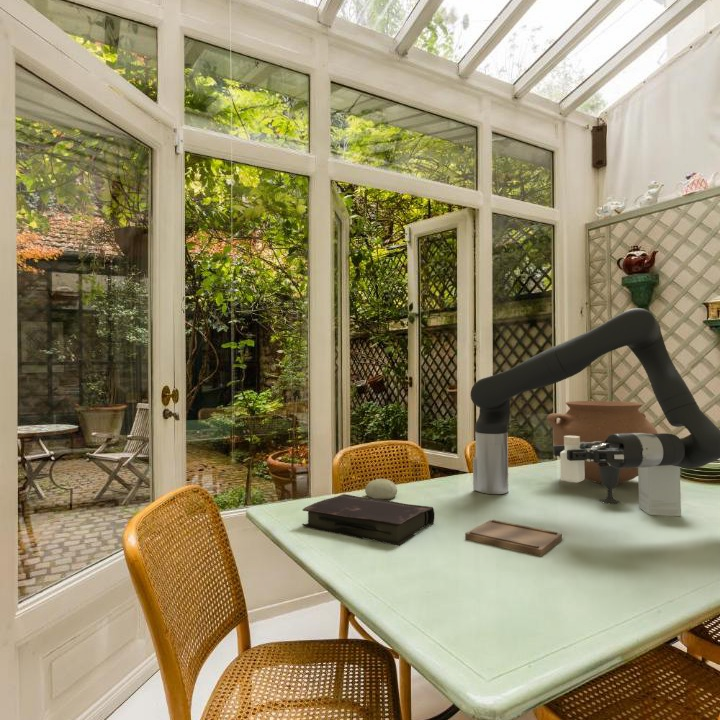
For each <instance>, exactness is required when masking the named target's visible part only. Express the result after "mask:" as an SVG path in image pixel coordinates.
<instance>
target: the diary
mask: <svg viewBox="0 0 720 720" xmlns="http://www.w3.org/2000/svg"><path fill="white" fill-rule="evenodd" d="M302 511H303V512H308V513H307V523H302V526H303V527H305V528H308V529H311V530H316V531H321V532H326V533H330V534H331V533H332V534H336V535H343V536H348V537H351V538H352V537H353V538H357V539H361V540H362V539H363V540H365V539H366V540H372V541H376V542H379V543H383V544H387V545H392V546H398V547H400V546H402V545H404V543H406V542H408V541H410V540H411V539H412V538H414V537H416V534H415V533H417V532H418V531H420V530H421V529H423V528H424V527H425V526H428V524H429V525H435V509H434V507H433V506H426V505H419V504H411V503H410V504H409V503H403V502H398V501H393V500H388V499H374V498H371V497H361V496H355V495H352V494H346V493H343V494H340V495H337V496H334V497H330V498H326V499H323V500H320V501H317V502H314V503H312V504H310V505H307V506H304V508H302Z"/></svg>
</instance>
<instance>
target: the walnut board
mask: <svg viewBox="0 0 720 720" xmlns="http://www.w3.org/2000/svg"><path fill="white" fill-rule="evenodd" d="M464 535H465V536H464V537H465V540H467V541H468V540H469V541H473V542H477V543H481V544H486V545H490V546H495V547H499V548H504V549H508V550H512V551H516V552H520V553H521V552H522V553H525V554H530V555H534V556H539V557H542V556H543V555H545V554H546V553H548V551H550V550H551V549H553V548H554V547H555V546H556V545H557V544H559V543H560V542H561V541H562V540H563V534H562V533H558V532H557V531H554V530H553V531H552V530H548V529H543V528H537V527H532V526H527V525H523V524H518V523H512V522H507V521H501V520H496V519H490V520H488V521H486V522H484V523H482V524H480V525H478V526H476V527H475V528H473V529H471V530H469V531H467V532H465V534H464ZM558 542H559V543H558Z"/></svg>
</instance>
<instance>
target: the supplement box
mask: <svg viewBox="0 0 720 720" xmlns="http://www.w3.org/2000/svg"><path fill="white" fill-rule="evenodd" d="M637 478H638V480H637V481H638V484H637V485H638V508H639V509H641V510H642V511H644V512H645V513H646V514H647V515H651V516H663V517H664V516H665V517H682V499H681V498H682V497H681V496H682V492H681V467H678V466H673V465H666V466H651V467H645V468H638V476H637Z"/></svg>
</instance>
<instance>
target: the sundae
mask: <svg viewBox="0 0 720 720" xmlns="http://www.w3.org/2000/svg"><path fill="white" fill-rule="evenodd" d="M596 464H597V465H598V466H599V471H600V478H601V482H602V485H603V486H604V487H605V488H606V489H607V490H606V491H607V495H606V497H605V498H600V499H599V502H601V503H603V502H604V504H608V503H610V504H609V505H617V504H618V503H619V504H620V503H621V501H620V500H618V499H615V497H614V496H613V490H614V489H615V488H616V487H617V486H618V485H619V483H618V481H619V474H620V469H617V468H614V467H612V466H611V465H610V464H609V463H596Z"/></svg>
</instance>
